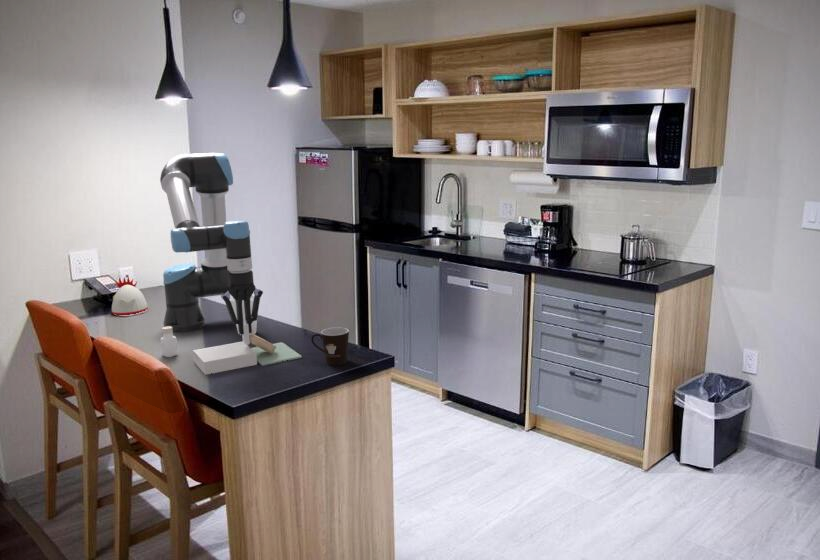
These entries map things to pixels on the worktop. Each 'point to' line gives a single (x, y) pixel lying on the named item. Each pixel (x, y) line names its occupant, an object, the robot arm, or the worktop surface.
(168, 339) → the pepper shaker
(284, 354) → the rubber mat
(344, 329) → the coffee mug
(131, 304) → the white dome hat
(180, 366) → the worktop surface
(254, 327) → the foam cup
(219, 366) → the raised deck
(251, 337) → the tan flat disc
